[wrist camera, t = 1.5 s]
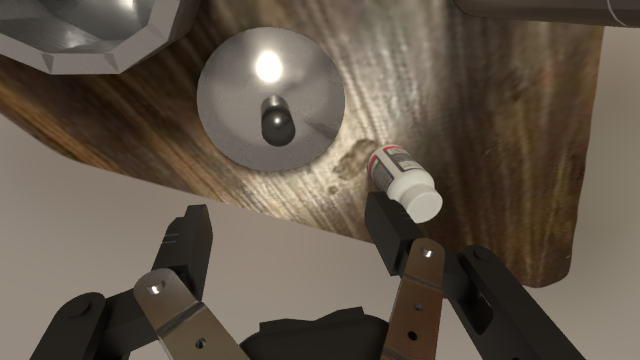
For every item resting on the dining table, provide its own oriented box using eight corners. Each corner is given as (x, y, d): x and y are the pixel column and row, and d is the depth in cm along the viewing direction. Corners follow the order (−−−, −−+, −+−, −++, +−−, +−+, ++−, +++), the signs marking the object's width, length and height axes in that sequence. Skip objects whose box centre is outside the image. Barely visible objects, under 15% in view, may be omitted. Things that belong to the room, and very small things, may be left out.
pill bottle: (381, 185, 38) (416, 236, 30) (358, 164, 35) (389, 212, 27) (413, 159, 36) (458, 204, 28) (391, 134, 34) (433, 176, 26)
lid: (345, 27, 26) (372, 35, 20) (335, 159, 34) (353, 194, 28) (184, 23, 24) (159, 31, 18) (214, 167, 31) (204, 207, 25)
